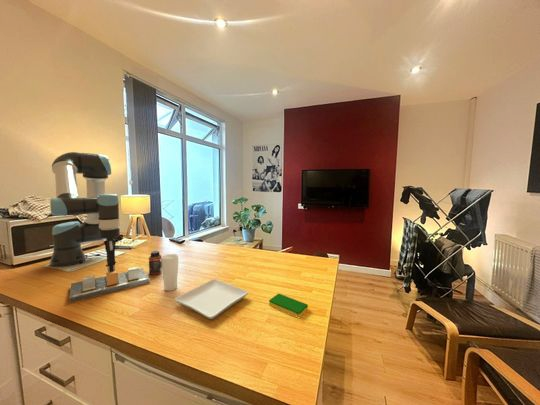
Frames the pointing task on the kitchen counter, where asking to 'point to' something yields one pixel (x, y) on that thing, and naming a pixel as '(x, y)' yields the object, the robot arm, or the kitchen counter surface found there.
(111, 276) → the toggle
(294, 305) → the dish sponge
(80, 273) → the kitchen counter surface
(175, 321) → the kitchen counter surface
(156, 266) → the supplement bottle
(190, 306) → the salad plate
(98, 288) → the panel
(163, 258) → the white tumbler
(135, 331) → the kitchen counter surface
